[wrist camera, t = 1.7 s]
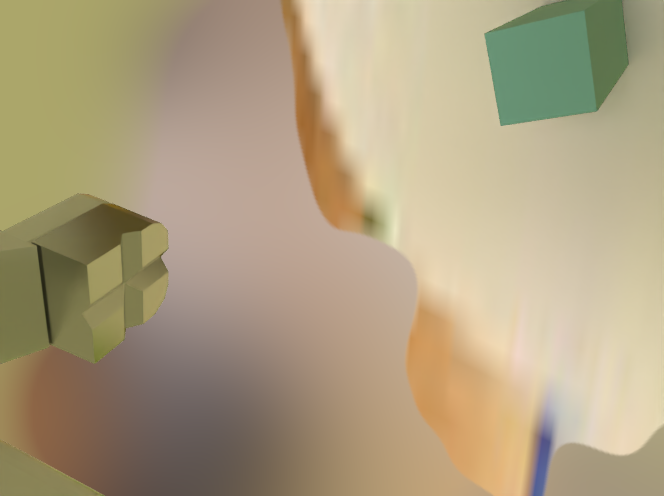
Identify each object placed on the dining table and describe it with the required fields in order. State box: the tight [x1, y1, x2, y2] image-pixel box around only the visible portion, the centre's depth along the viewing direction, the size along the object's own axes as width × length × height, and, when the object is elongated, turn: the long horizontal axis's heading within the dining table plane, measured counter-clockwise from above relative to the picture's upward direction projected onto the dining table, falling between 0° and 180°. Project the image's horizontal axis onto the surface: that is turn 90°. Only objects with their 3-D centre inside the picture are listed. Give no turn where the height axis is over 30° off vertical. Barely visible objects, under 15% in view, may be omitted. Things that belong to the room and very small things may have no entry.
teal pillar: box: [485, 0, 628, 126], centre depth 34 cm, size 4×4×12 cm
